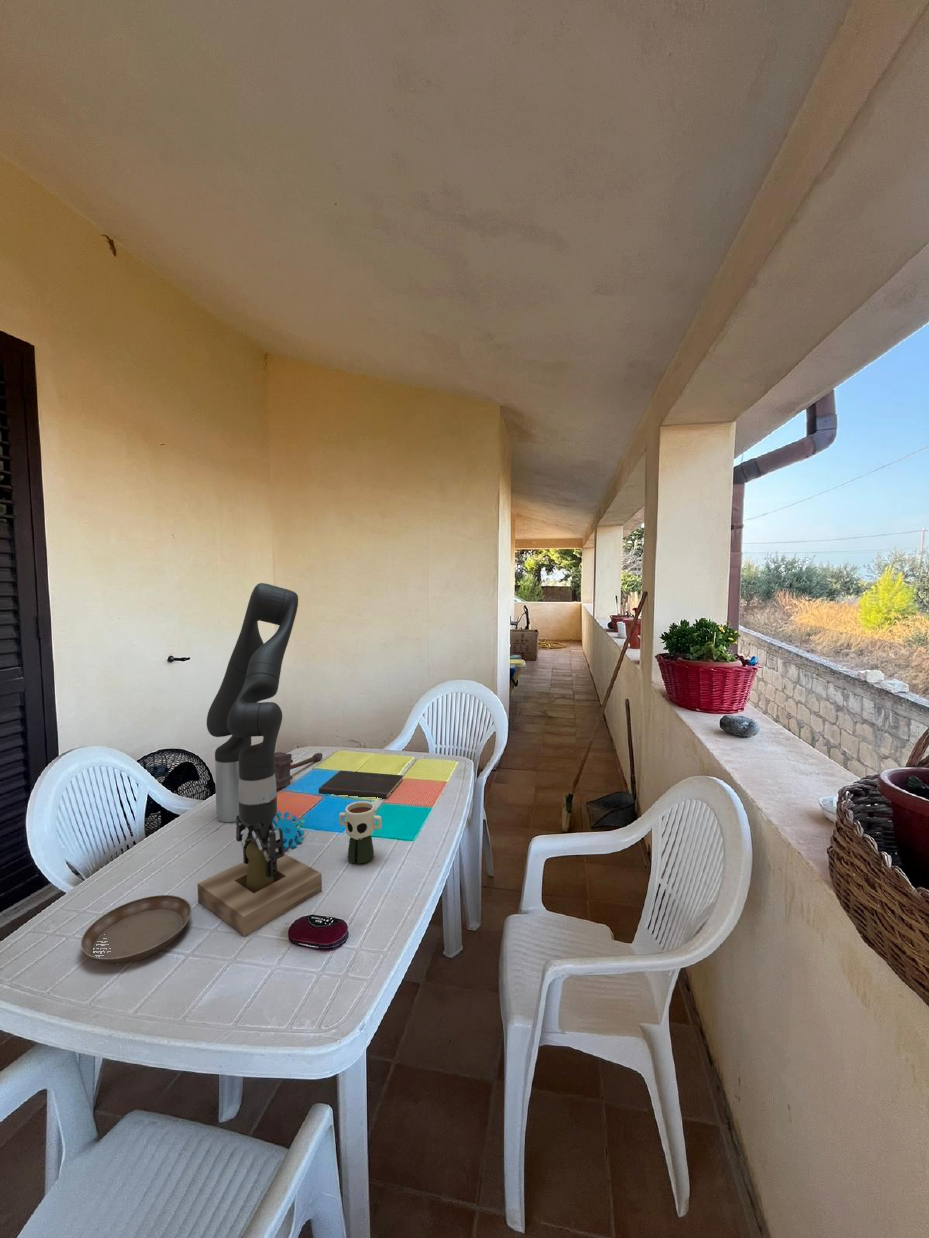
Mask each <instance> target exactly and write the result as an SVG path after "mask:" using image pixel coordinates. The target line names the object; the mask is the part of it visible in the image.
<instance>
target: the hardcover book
mask: <svg viewBox="0 0 929 1238" xmlns="http://www.w3.org/2000/svg"><path fill="white" fill-rule="evenodd" d="M403 777H404V775H402V774H390V773H377V772H367V771H366V772H363V771H351V770H339V771H338V772H337V773H336V774H335V775H333V776H332V777H330V778H329V779H328V780H327V781H325V783H324V784H322V785H321V786H319V788H318V794H319V795H320V794H321V795H328V794H334V795H333V796H339V795H348V796H347V797H350V796H358V797H357V798H361V797H376V798H377V797H378V798H382V799H381V800H383V799H387V800H388V798H389V797H390V796H391V794H392V793H393V792H394V791H395V789H396V788H397V787H398V786H397V784H399V782H400V780H401V779H402V780H403ZM400 783H401V782H400ZM399 785H400V784H399ZM396 786H397V787H396ZM395 787H396V788H395ZM394 788H395V789H394ZM393 790H394V791H393ZM392 791H393V792H392ZM391 792H392V793H391ZM388 796H389V797H388ZM387 797H388V798H387Z"/></svg>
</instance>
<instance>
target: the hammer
mask: <svg viewBox="0 0 929 1238" xmlns="http://www.w3.org/2000/svg"><path fill="white" fill-rule="evenodd" d="M292 756H293V754H292V753H283V752H282V753H281V752H277V753H276V752H275V756H274V759H275V778H276V785H277V789H281V788H284V787H287V786H291V780H292V779H293V775H291V770H294V769H297V768H299V767H302V766H305V765H309V764H311V763H313V762H318V761H317V760H320V759H321V760H322V758H323V757H322V756H323V753H322V752H316V753H314V754H313V755H312V756H311V757H309V758H306V759H304V760H302V761H299V762H296V763H294V759H292ZM321 760H320V761H321ZM293 763H294V764H293Z"/></svg>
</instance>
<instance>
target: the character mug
mask: <svg viewBox="0 0 929 1238" xmlns="http://www.w3.org/2000/svg"><path fill="white" fill-rule="evenodd" d="M338 817H339V818H338V820H339V821H338V822H339V825H340V826H341V827H344V829H345V833H346V835H347V836H348V837H349V841H348V842H349V843H348V848H347V849H348V850H347V859H348V861H349V862H350V863H352V864H355V860H357V864H364V863H367V862H370V861H371V860H372V859H373V857H374V854H375V850H374V844H373V839H372V834H373V833H374V832H375V830H381V829H382V826H383V823H382V820H383V819H382V816H381V815H376V806H375V804H374V803H372V802H370V801H368V800H367V801H366V800H365V801H364V800H362V801H361V800H360V801H354V802H351V803H350V804H348V805H346V807H345V809H344V812H340V813H339V815H338ZM344 818H345V819H344ZM376 820H377V824H376Z"/></svg>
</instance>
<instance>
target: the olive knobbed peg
mask: <svg viewBox="0 0 929 1238" xmlns="http://www.w3.org/2000/svg"><path fill="white" fill-rule="evenodd" d="M267 844H269V841H268V842H266V843H264V845H267ZM268 852H269V854H270V848H268ZM246 856H247V858H248V859H249V862H248V871H247V880H246V889H248V890H249V891H251V892H253V893H256V892H258V891H259V890H261V889H263V888H265V887H267V886H269V885H271V884H273V883H274V879H273V876H272V877H270V878H268V877H266V865H265V860H266V859H265V856H264V853H263V852H261V851H260V850H259V847H258V845H257V844H256V843H255V842H250V843H249V844H248V846H247V848H246Z"/></svg>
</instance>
